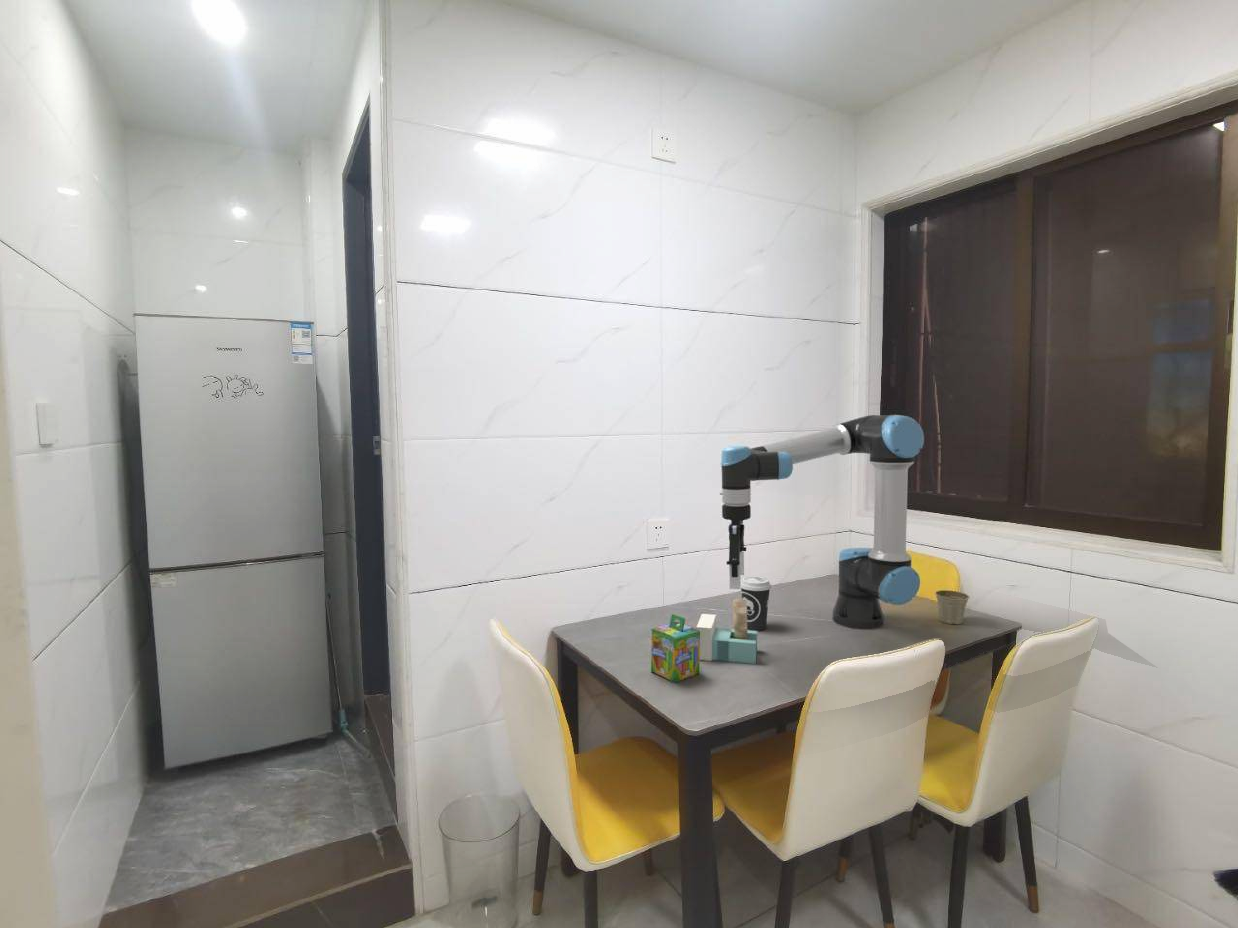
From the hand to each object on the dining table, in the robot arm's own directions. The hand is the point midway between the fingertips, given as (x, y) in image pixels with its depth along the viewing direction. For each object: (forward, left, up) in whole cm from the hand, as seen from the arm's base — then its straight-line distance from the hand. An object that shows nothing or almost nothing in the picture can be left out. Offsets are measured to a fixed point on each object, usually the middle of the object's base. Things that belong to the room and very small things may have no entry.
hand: (737, 581), depth 165 cm
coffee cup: (-4, -23, -21) cm, 31 cm away
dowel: (-1, 0, -21) cm, 21 cm away
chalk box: (+14, +15, -21) cm, 29 cm away
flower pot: (-63, -42, -21) cm, 78 cm away
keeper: (0, 0, -21) cm, 21 cm away
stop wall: (+8, 0, -21) cm, 22 cm away
